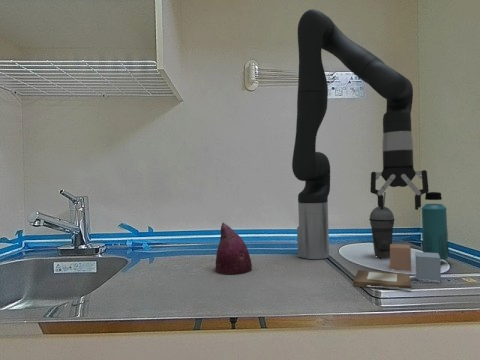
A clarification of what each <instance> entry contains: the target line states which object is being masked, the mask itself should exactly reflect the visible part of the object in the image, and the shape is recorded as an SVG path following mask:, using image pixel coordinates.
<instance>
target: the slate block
mask: <svg viewBox="0 0 480 360" xmlns="http://www.w3.org/2000/svg"><path fill="white" fill-rule="evenodd" d="M414 253H415V278H416V277H417V278H418V279H429V280H437V281H441V282H442V278H441V276H442V273H441V272H442V271H441V260H440V256H439V254H438V253H426V252H423V251H415V252H414ZM417 278H416V279H417Z"/></svg>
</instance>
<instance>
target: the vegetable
mask: <svg viewBox="0 0 480 360" xmlns="http://www.w3.org/2000/svg"><path fill="white" fill-rule="evenodd" d="M219 240H220V241H219V244H218V246H217V250H216V256H215V272H216V273H218V274H222V275H228V276H229V275H242V274H247V273H249V272H252V270H253V266H252V265H253V264H252V259H251V255H250V253H249V250H248V247H247V245H246V243H245V241H244V239H242V237H241V235H239V234H238V233H237V232H236V231H235V230H233V229H232V228H231V226H229V225H228V224H226V223H224V222H223V221H222V223H221V226H220V237H219Z"/></svg>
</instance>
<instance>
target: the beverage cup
mask: <svg viewBox="0 0 480 360" xmlns="http://www.w3.org/2000/svg"><path fill="white" fill-rule="evenodd" d="M386 193H387V192H386V191H384V192H383V205H384V209H381V207H378V206H376V207H374V208H373V209H372V210H371V212H370V215H369V219H368V220H369V224H370V226H371V234H372V235H371V236H372V244H373V250H374V257H375V256H377V257H381V258H380V259H382V258H388V259H390V258H389V257H390V244H393V233H394V231H393V230H394V225H395V221H396V220H395V216H394V214H393V212H392V210H391V209H390V208H389V207H387V206H385V204H386V203H385V202H386Z"/></svg>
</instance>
